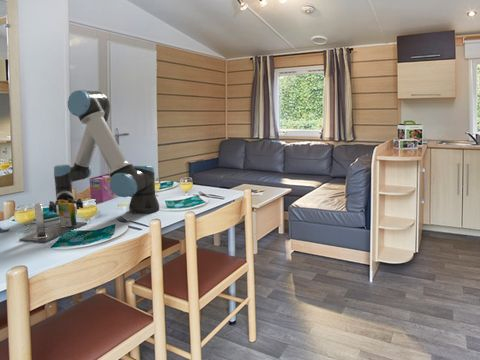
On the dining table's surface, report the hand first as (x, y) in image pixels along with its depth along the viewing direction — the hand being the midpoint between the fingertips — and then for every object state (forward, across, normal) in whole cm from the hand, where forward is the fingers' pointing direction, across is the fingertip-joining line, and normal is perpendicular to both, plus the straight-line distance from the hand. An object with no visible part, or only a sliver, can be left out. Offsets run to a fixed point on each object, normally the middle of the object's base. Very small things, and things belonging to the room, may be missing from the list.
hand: (66, 210), depth 166 cm
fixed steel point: (+7, +10, -8) cm, 15 cm away
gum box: (-59, -24, -9) cm, 64 cm away
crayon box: (-3, 0, -8) cm, 8 cm away
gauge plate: (+1, +5, -8) cm, 10 cm away
